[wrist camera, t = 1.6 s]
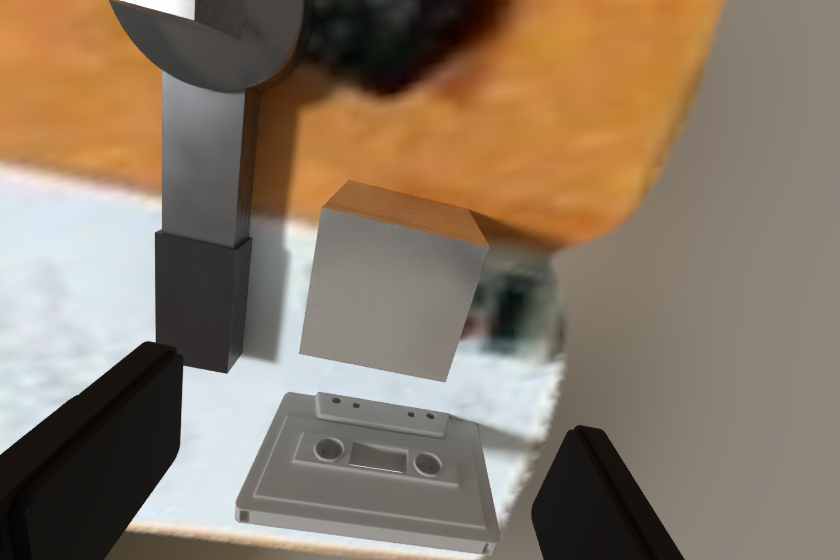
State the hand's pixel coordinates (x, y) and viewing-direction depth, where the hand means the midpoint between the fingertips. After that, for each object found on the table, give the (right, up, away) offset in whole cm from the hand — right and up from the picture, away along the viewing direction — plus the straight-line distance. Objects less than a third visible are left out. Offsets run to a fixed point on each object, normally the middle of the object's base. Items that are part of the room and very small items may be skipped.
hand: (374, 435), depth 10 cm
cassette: (-1, -4, +15) cm, 16 cm away
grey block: (0, +5, +11) cm, 12 cm away
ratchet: (-8, +10, +9) cm, 16 cm away
